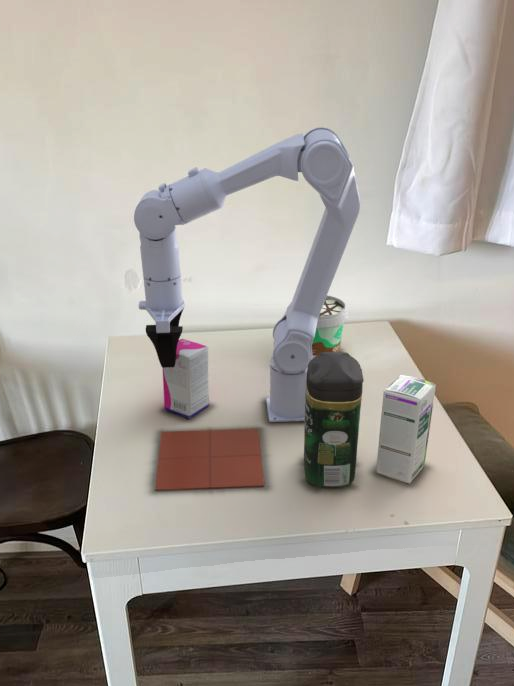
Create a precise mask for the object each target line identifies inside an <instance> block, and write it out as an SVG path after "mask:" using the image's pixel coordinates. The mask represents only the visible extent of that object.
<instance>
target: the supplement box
mask: <svg viewBox="0 0 514 686" xmlns="http://www.w3.org/2000/svg"><path fill="white" fill-rule="evenodd" d="M209 373H210V372H209V346H208V345H205V344H202V343H199V342H195V341H192V340H189V339H185V338H179V341H178V344H177V351H176V362H175V367H167V368H162V386H163V405H164V409H163V410H164V411H167V412H171V413H173V414H175V415H179V416H181V417H184V418H186V419H189V420H190V419H192V418H194V417H195V416H196V415H198V414H200V413H201V412H202V411H204V410H205V409H207V408H208V407H210V384H209V383H210V381H209V380H210V379H209V378H210V377H209V376H210V375H209Z"/></svg>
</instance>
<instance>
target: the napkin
mask: <svg viewBox="0 0 514 686" xmlns="http://www.w3.org/2000/svg"><path fill="white" fill-rule="evenodd" d="M160 432H161V433H160V439H159V440H160V441H159V450H158V459H157V469H156V478H155V492H162V491H163V492H165V491H187V490H190V491H191V490H210V489H213V490H214V489H215V490H216V489H217V490H218V489H237V488H239V489H240V488H264V487H265V479H264V469H263V461H262V451H261V443H260V442H261V441H260V434H259V428H234V429H232V428H231V429H204V430H203V429H202V430H201V429H200V430H175V431H173V430H171V431H160Z"/></svg>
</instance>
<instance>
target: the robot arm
mask: <svg viewBox="0 0 514 686" xmlns="http://www.w3.org/2000/svg"><path fill="white" fill-rule="evenodd" d="M299 173H301V174H302V176H303V178H304V180H305V182H307V183H308V184H309V185H310V186H311V188H312V189H314V190H315V191H316V192H317V193H318V194H319V197H320V199H321V201H322V203H323V205H324V207H325V208H324V211H323V214H322V217H321V219H320V222H319V225H318V228H317V231H316V234H315V236H314V239H313V241H312V244H311V247H310V250H309V253H308V255H307V258H306V261H305V264H304V266H303V269H302V272H301V275H300V277H299V280H298V283H297V286H296V289H295V291H294V293H293V297H292V298H291V299H292V300H291V302H290V303H289V305H288V306H287V307H286V310H285V312H284V314H283V316H282V317H281V318H280V319H279V320H277V322H276V323H275V325H274V327H273V330H272V338H273V349H272V350H273V351H272V357H270V360H269V397H266V399H265V401H266V409H267V416H268V417H267V418H268V421H269V422H270V423H285V422H305V395H306V379H307V370H308V364H309V362H310V361H311V360H312V342H313V339H314V337H315V332H316V326H317V321H318V317H319V314H320V312H321V309H322V307H323V304H324V302H325V299H326V296H327V295H328V294H329V291H330V289H331V286H332V285H333V284H332V283H333V281H334V279H335V276H336V273H337V271H338V268H339V266H340V263H341V261H342V258H343V255H344V253H345V250H346V248H347V245H348V243H349V240H350V237H351V235H352V232H353V229H354V227H355V224H356V222H357V219H358V218H359V214H360V211H361V208H362V206H361V204H362V203H361V199H360V194H359V190H358V189H359V188H358V183H357V180H356V179H357V178H356V174H355V167H354V165H353V162H352V160H351V159H350V154H349V153H348V150H347V149H346V147H345V145H344V143H343V142H342V140H341V138H340V137H339V136H338V134H337V133H336V132H335V131H334V130H332V129H331V128H328V127H324V126H319V127H314V128H312V129H310V130H309V131H307V132H306V133H305V134H304V133H303V132H302V133H298V134H295V135H291V136H290V137H287V138H285V139H283V140H280V141H278V142H276V143H274V144H272V145H269V146H268V147H266V148H264V149H262V150H260V151H259V152H256V153H254V154H252V155H250V156H248V157H247V158H245V159H243V160H241V161H239V162H237V163H235V164H233V165H231V166H229V167H226V168H225V169H223V170H221V171H214V170H211V169H209V168H202V169H200V170H199V169H198V167H193V168H191V169H188V171H187V175H186V176H185V177H183V178H181V179H178V180H177V181H174V182H172V183H170V184H168V185H167V183H166V182H163V183H161V184H159V185H158V188H157V189H152V190H149V191H147V192H146V193H145V194H143V195H142V197H141V198H140V200H139V202H138V204H137V205H136V207H135V209H134V212H133V213H134V214H133V221H134V225H135V227H136V228H135V229H136V230H137V231H138V232H139V241H140V247H139V249H140V251H139V252H140V259H141V268H142V277H143V286H144V287H143V288H144V297H145V300H140V301H139V302H138V309H139V310H140V311H142V310H144V311H146V312H147V313H148V314H149V316H150V317H151V318H152V320H153V321H154V323H155V324H146V325H145V333H146V336H147V337H148V338H149V341H151V343H152V345H153V347H154V349H155V352H156V355H157V359H158V361H159V364H160V367H161V368H162V369H163V368H167V367H175V362H176V351H177V344H178V341H179V340H180V339H181V336H182V334H183V329H184V327H183V325H182V326H181V325H180V322H181V321H180V320H181V318H182V314H183V311H184V309H185V301H184V300H183V287H182V276H181V275H182V274H181V263H180V252H179V251H180V250H179V243H178V241H177V239H178V238H177V226H184V225H187V224H190V223H192V222H193V221H196V220H198V219H200V218H202V217H205V216H207V215H209V214H211V213H214V212H216V211H218V210H220V209H222V208H223V206H224V204H225V201H226V198H227V196H229V195H233V194H234V193H237V192H239V191H241V190H244V189H247V188H249V187H252V186H255V185H257V184H260V183H262V182H265V181H267V180H270V179H272V178H275V177H281V178H285V179H288V180H291V181H295V182H299Z"/></svg>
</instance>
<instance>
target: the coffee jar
mask: <svg viewBox="0 0 514 686" xmlns="http://www.w3.org/2000/svg"><path fill="white" fill-rule="evenodd" d="M363 383H364V374H363V369H362V367H361V365H360V362H359V361H358V360H357V359H356V358H355V357H353V356H351V355H350V354H349V353H348V352H341V351H339V352H321V353H320V354H319V355H317V356H316V357H314V358H313V359H312V360H311V361H310V362H309V364H308V370H307V379H306V395H305V421H304V425H303V427H304V428H303V429H304V434H303V435H304V436H303V437H304V438H303V439H304V441H303V473H304V476H305V479H306V481H307V482H308V483H309V484H311V485H313V486H316V487H320V488H323V489H339V488H343V487H347V486H349V485H351V484H352V483H353V482H354V481H355V478H356V469H357V456H358V444H359V432H360V421H361V408H362V399H363V390H364V389H363Z"/></svg>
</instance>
